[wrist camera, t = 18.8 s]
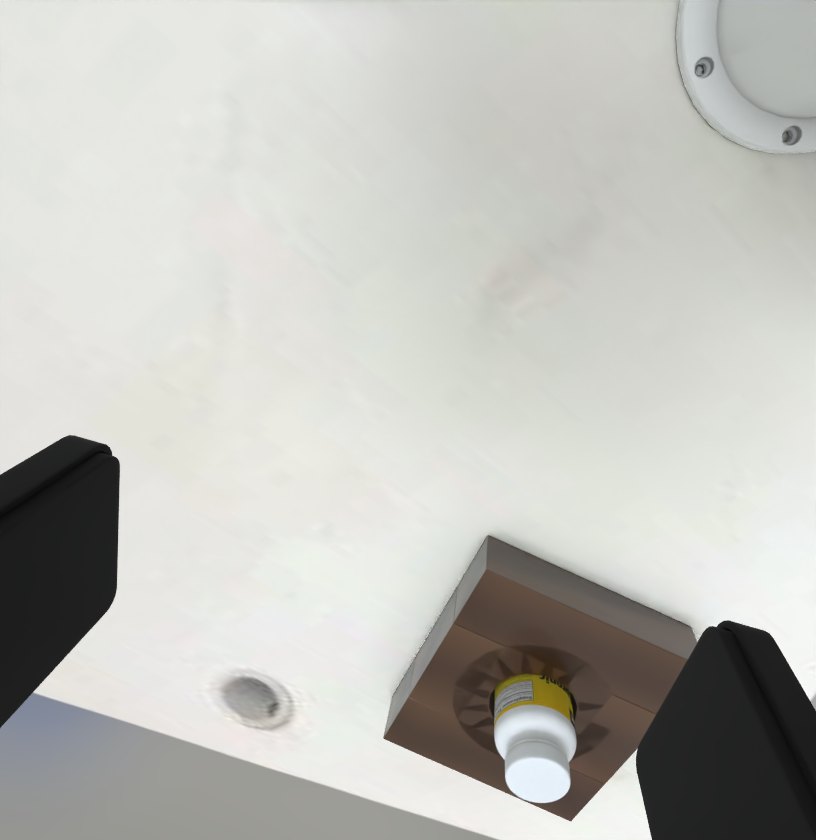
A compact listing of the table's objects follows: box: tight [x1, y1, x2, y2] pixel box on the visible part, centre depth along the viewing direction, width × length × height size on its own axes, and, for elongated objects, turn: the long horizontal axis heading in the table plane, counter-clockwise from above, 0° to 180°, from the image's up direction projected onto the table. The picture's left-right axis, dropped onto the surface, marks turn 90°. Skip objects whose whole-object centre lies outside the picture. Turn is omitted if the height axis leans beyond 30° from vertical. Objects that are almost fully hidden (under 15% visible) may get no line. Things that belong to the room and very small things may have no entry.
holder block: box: [383, 536, 697, 821], centre depth 43 cm, size 18×16×4 cm
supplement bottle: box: [494, 674, 577, 803], centre depth 41 cm, size 5×5×10 cm
